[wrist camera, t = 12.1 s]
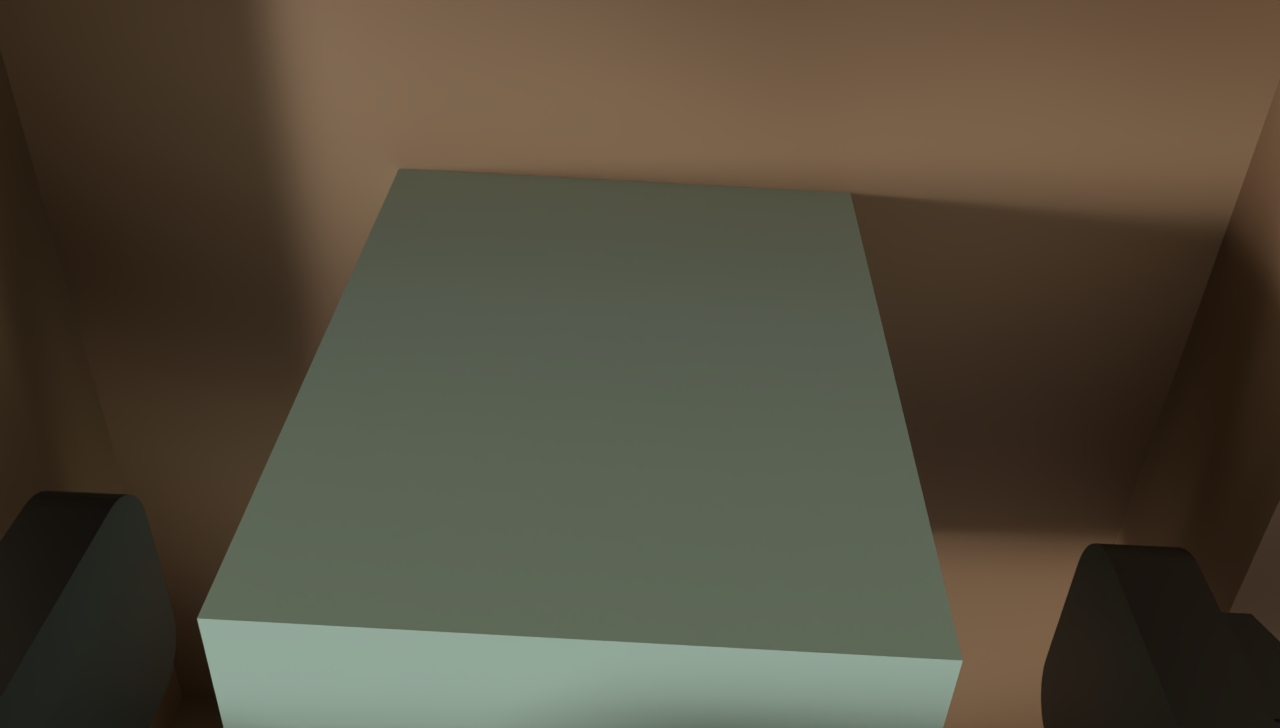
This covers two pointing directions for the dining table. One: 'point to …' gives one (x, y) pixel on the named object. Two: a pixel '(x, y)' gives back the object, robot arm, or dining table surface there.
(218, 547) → the tray
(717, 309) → the sage block
